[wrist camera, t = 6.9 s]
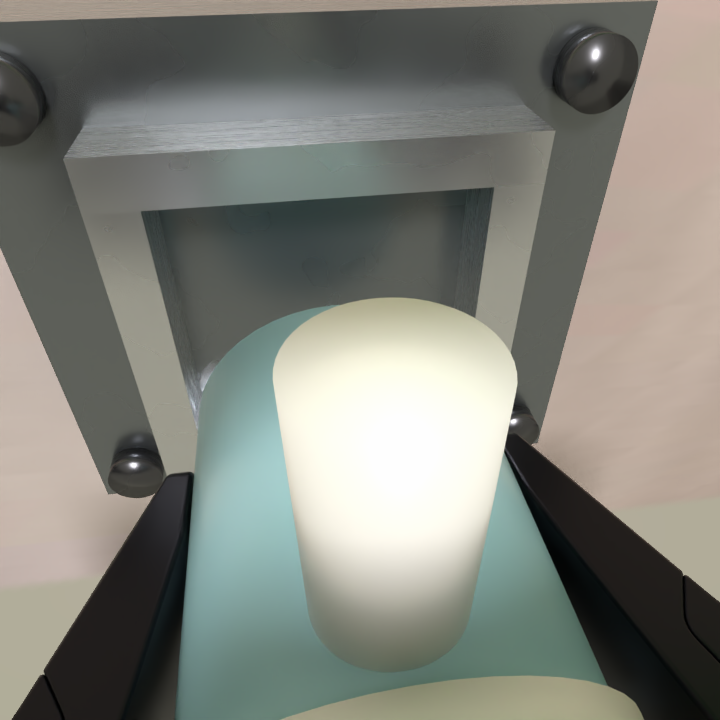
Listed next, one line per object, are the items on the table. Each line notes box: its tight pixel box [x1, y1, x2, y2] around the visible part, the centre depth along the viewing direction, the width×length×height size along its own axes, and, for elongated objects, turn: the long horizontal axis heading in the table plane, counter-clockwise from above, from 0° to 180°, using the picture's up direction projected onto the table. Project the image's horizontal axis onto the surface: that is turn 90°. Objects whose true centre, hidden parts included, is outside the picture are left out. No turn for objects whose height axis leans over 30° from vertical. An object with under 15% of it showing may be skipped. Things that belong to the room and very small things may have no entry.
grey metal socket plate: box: [0, 0, 658, 498], centre depth 15 cm, size 13×12×4 cm
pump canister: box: [174, 297, 644, 720], centre depth 8 cm, size 5×8×7 cm
